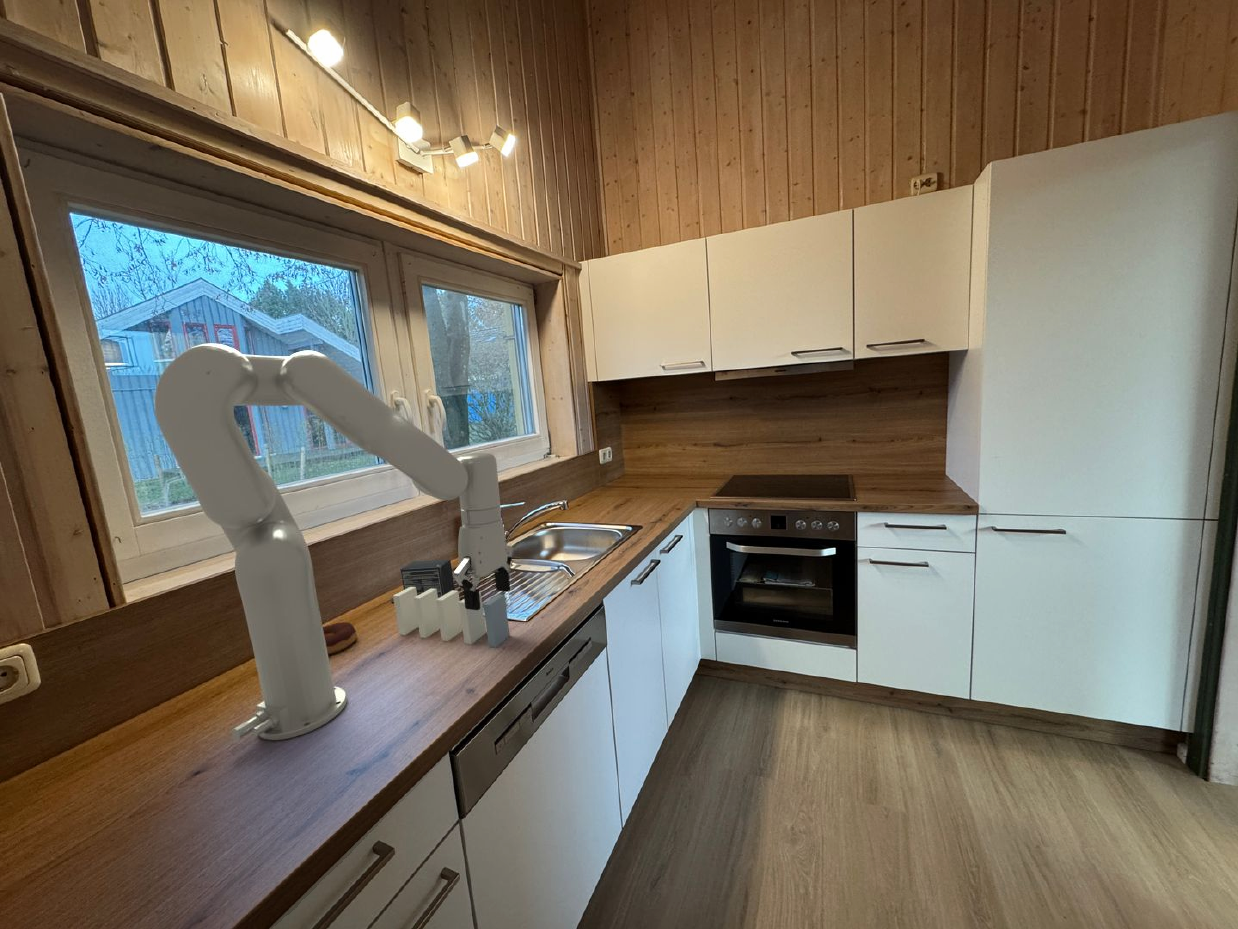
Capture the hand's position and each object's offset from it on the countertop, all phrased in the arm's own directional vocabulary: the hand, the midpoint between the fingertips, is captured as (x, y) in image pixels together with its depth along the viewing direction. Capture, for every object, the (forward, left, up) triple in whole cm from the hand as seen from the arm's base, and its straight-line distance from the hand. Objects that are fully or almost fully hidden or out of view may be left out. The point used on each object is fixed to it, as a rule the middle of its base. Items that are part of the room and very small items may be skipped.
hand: (488, 599), depth 99 cm
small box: (+14, +29, -10) cm, 34 cm away
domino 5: (+1, -1, -9) cm, 9 cm away
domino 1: (+1, +23, -9) cm, 25 cm away
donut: (-10, +36, -10) cm, 38 cm away
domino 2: (+1, +17, -9) cm, 20 cm away
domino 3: (+1, +11, -9) cm, 15 cm away
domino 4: (+1, +5, -9) cm, 11 cm away
